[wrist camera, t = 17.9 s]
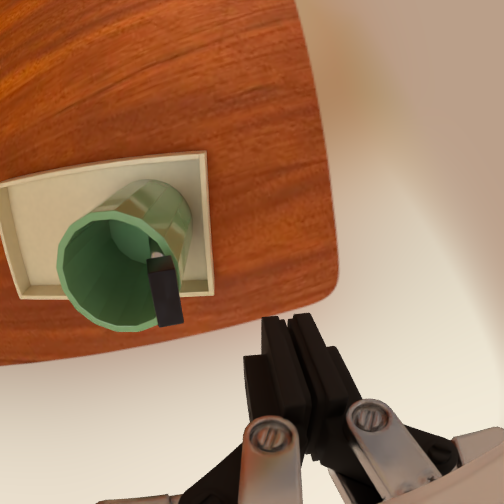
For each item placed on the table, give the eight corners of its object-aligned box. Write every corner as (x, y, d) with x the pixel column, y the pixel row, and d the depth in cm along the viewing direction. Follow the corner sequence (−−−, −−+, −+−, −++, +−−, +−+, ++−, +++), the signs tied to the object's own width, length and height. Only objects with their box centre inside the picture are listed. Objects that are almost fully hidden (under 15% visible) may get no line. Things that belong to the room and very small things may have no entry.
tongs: (156, 206, 22) (175, 268, 12) (161, 241, 23) (184, 323, 14) (141, 209, 22) (147, 273, 12) (146, 244, 23) (158, 328, 13)
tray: (206, 150, 22) (204, 153, 20) (214, 278, 26) (214, 295, 24) (8, 179, 20) (-10, 185, 18) (32, 285, 25) (19, 299, 22)
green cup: (189, 175, 22) (171, 205, 14) (196, 262, 25) (188, 331, 17) (101, 183, 21) (44, 218, 13) (115, 266, 24) (76, 331, 16)
